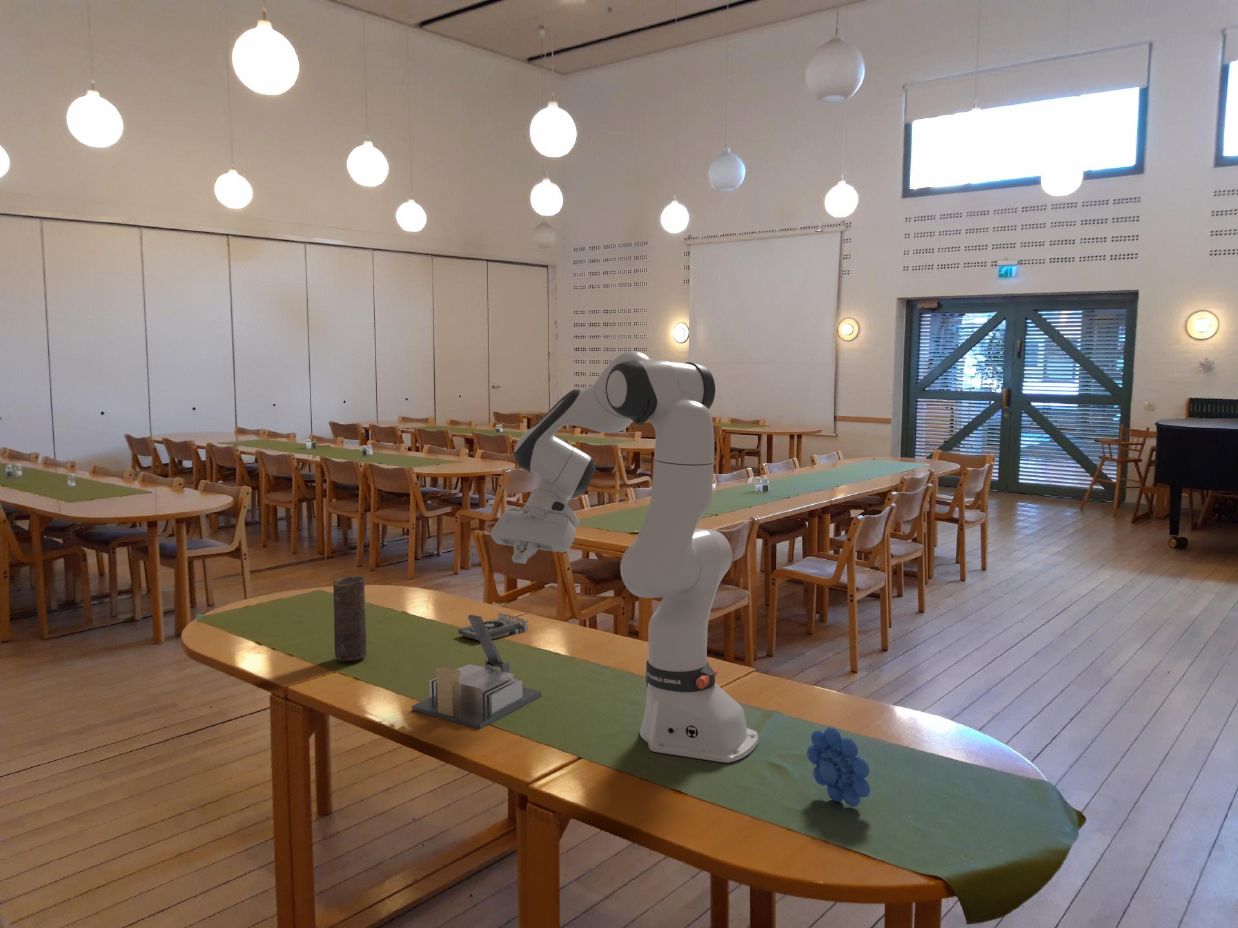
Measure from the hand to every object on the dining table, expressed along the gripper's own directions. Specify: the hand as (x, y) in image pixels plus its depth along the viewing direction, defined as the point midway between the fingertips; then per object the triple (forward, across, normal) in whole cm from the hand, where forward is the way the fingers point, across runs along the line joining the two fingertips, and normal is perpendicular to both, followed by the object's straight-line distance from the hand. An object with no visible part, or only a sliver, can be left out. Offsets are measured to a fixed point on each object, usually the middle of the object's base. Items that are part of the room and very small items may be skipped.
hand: (518, 561), depth 193 cm
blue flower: (+32, +77, +7) cm, 84 cm away
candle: (+26, -44, +13) cm, 53 cm away
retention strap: (+19, 0, +3) cm, 19 cm away
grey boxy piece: (+29, 0, +10) cm, 31 cm away
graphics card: (+2, -29, +38) cm, 48 cm away
